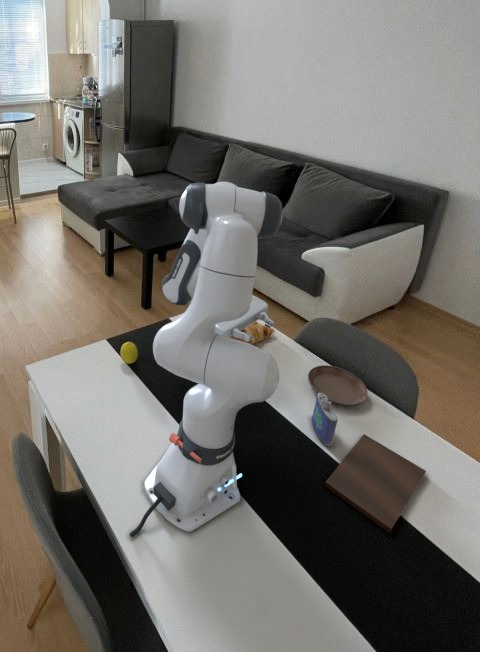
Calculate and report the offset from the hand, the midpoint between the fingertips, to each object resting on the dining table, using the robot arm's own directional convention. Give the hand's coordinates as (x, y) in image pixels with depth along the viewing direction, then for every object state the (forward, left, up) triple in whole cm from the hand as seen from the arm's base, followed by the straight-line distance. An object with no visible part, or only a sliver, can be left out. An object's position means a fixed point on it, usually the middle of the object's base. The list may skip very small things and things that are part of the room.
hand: (261, 331), depth 118 cm
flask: (-1, -19, -20) cm, 28 cm away
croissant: (+17, +15, -20) cm, 31 cm away
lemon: (-21, +32, -20) cm, 43 cm away
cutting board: (-5, -33, -20) cm, 39 cm away
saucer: (+16, -15, -20) cm, 30 cm away
